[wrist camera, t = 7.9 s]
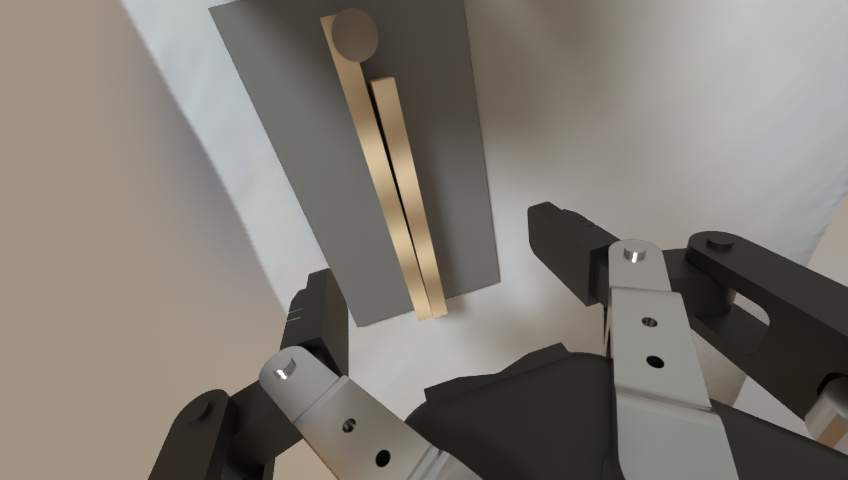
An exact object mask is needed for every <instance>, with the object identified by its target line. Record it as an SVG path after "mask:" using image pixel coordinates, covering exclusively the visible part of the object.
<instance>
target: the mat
mask: <svg viewBox="0 0 848 480" xmlns="http://www.w3.org/2000/svg"><path fill="white" fill-rule="evenodd" d="M347 8H358V9H361V10H363V11H364V12H366V13H367V14H368V15H369V16H370V17H371V18H372V20H373V21H374V23H375V25H376V27H377V31H378V45H377V48H376V51H375V52H374V54H373V55H372V56H371V57H370V58H369V59H367V60H365V61H364V62H361V63H360V67H361V70H362V74H363V77H364V81H365V84H366V88H367V91H368V94H369V98H370V101H371V105H372V108H373V112H374V115H375V119H376V122H377V125H378V129H379V132H380V136H381V139H382V143H383V146H384V150H385V153H386V157H387V160H388V163H389V167H390V170H391V174H392V177H393V181H394V184H395V188H396V191H397V194H398V190H397V187H396V183H395V179H394V175H393V172H392V168H391V164H390V160H389V157H388V153H387V149H386V145H385V142H384V138H383V134H382V130H381V127H380V123H379V119H378V115H377V112H376V108H375V104H374V100H373V97H372V93H371V89H370V86H369V82H368V81H370V80H374V79H378V78H382V77H386V76H389V77H394V80H395V84H396V88H397V93H398V97H399V102H400V106H401V110H402V115H403V119H404V123H405V128H406V132H407V137H408V141H409V145H410V150H411V154H412V158H413V163H414V167H415V172H416V176H417V180H418V185H419V189H420V193H421V198H422V202H423V207H424V211H425V215H426V220H427V224H428V228H429V233H430V237H431V242H432V246H433V250H434V255H435V259H436V263H437V268H438V272H439V277H440V281H441V285H442V290H443V294H444V298H445V299H448V298H451V297H454V296H457V295H460V294H463V293H467V292H470V291H473V290H476V289H479V288H482V287H485V286H488V285H491V284H494V283H497V282H500V280H499V272H498V264H497V257H496V249H495V241H494V234H493V226H492V218H491V210H490V203H489V195H488V187H487V180H486V172H485V164H484V157H483V149H482V141H481V134H480V126H479V118H478V110H477V103H476V95H475V87H474V80H473V72H472V64H471V57H470V49H469V41H468V34H467V26H466V18H465V10H464V3H463V0H240V1H236V2H231V3H227V4H223V5H219V6H215V7H211V8H208V9H209V12H210V14H211V16H212V18H213V20H214V22H215V24H216V27H217V29H218V31H219V33H220V35H221V37H222V39H223V41H224V44H225V46H226V48H227V50H228V52H229V54H230V56H231V58H232V61H233V63H234V65H235V67H236V69H237V71H238V73H239V75H240V78H241V80H242V82H243V84H244V86H245V88H246V90H247V93H248V95H249V97H250V99H251V101H252V103H253V105H254V107H255V110H256V112H257V114H258V116H259V118H260V120H261V122H262V124H263V127H264V129H265V131H266V133H267V135H268V137H269V139H270V142H271V144H272V146H273V148H274V150H275V152H276V154H277V156H278V159H279V161H280V163H281V165H282V167H283V169H284V171H285V173H286V176H287V178H288V180H289V182H290V184H291V186H292V188H293V191H294V193H295V195H296V197H297V199H298V201H299V203H300V205H301V208H302V210H303V212H304V214H305V216H306V218H307V220H308V222H309V225H310V227H311V229H312V231H313V233H314V235H315V237H316V240H317V242H318V244H319V246H320V248H321V250H322V252H323V254H324V257H325V259H326V261H327V263H328V265H329V267H330V269H331V271H332V272H333V275H334V277H335V279H336V281H337V283H338V285H339V287H340V290H341V292H342V294H343V296H344V298H345V301H346V303H347V306H348V308H349V310H350V312H351V314H352V316H353V318H354V320H355V323H356V325H357V327H361V326H365V325H368V324H371V323H374V322H377V321H380V320H383V319H386V318H389V317H392V316H395V315H399V314H402V313H405V312H408V311H411V310H414V306H413V303H412V300H411V297H410V293H409V290H408V287H407V284H406V281H405V278H404V275H403V272H402V269H401V266H400V263H399V260H398V257H397V253H396V250H395V247H394V244H393V241H392V238H391V235H390V232H389V229H388V226H387V223H386V220H385V217H384V214H383V210H382V207H381V204H380V201H379V198H378V195H377V192H376V189H375V186H374V183H373V180H372V177H371V174H370V171H369V167H368V164H367V161H366V158H365V155H364V152H363V149H362V146H361V143H360V140H359V137H358V134H357V131H356V127H355V124H354V121H353V118H352V115H351V112H350V109H349V106H348V103H347V100H346V97H345V94H344V91H343V88H342V84H341V81H340V78H339V75H338V72H337V69H336V66H335V63H334V60H333V57H332V54H331V51H330V48H329V45H328V41H327V38H326V35H325V32H324V29H323V26H322V23H321V20H320V18H323V17H326V16H330V15H334V14H338V13H340V12H341V11H342V10H344V9H347ZM398 198H399V194H398ZM399 201H400V198H399ZM400 205H401V202H400ZM401 208H402V205H401ZM402 212H403V209H402ZM403 215H404V213H403ZM404 219H405V217H404ZM405 222H406V220H405ZM406 226H407V224H406ZM407 229H408V228H407ZM408 232H409V231H408ZM409 236H410V235H409Z"/></svg>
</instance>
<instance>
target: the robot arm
mask: <svg viewBox="0 0 848 480" xmlns="http://www.w3.org/2000/svg"><path fill="white" fill-rule="evenodd" d="M528 230H529V243H530V246H531V249H532V251H533V253H534V254H535V255H536V256H537V257H538V258H539V259H540V260H541V261H542V262H543V263H544V264H545V265H546V266H547V267H548V268H549V269H550V270H551V271H552V272H553V273H554V274H555V275H556V276H557V277H558V278H559V279H560V280H561V281H562V282H563V283H564V284H565V285H566V286H567V287H568V288H569V289H570V290H571V291H572V292H573V293H574V294H575V295H576V296H577V297H578V298H579V299H580V300H581V301H582V302H583V303H584V304H585V305H586V306H587V307H588V306H591V305H594V304H597V303H599V302H600V303H601V304H602V305H603V354H602V355H597V354H592V353H583V352H570V353H569V352H568V350H567V349H566V348H565V347H564V345H563V344H562V343H561V342H560V343H558V344H555V345H552V346H549V347H546V348H543V349H540V350H537V351H534V352H531V353H528V354H527V355H525V356H524V357H522V358H521V359H519V360H518V361H516V362H515V363H513V364H512V365H510V366H508V367H507V368H505V369H504V370H502V371H501V372H499V373H496V374H488V375H478V376H467V377H458V378H455V379H452V380H449V381H446V382H443V383H440V384H437V385H435V386H432V387H429V388H426V389H424V392H425V396H426V400H427V401H426V402H424V403H423V404H421V405H420V406H419V407H417V408H416V409H415V410H414V411H413V412H412V413H411V414H410V415H409V416H408V417H407V418H406V420H405V421H404V422H403V421H402V420H401V419H399V418H398V417H397V416H396V415H395V414H393V413H392V412H391V411H390V410H388V409H387V408H386V407H385V406H383V405H382V404H381V403H380V402H378V401H377V400H376V399H375V398H373V397H372V396H371V395H370V394H368V393H367V392H366V391H365V390H364V389H362V388H361V387H360V386H359V385H357V384H356V383H355V382H354V381H352V380H351V379H350V378H349V377H348V308H347V304H346V301H345V298H344V296H343V294H342V292H341V290H340V287H339V285H338V283H337V281H336V279H335V277H334V275H333V272H332V271H331V269H330V268H327V269H324V270H320V271H317V272H314V273H311V274H309V276H308V282H307V287H306V289H303V290H300V291H298V293H297V294H296V296H295V297H294V298H293V300H292V301H291V305H290V309H289V314H288V317H287V322H286V326H285V330H284V334H283V338H282V342H281V346H280V350H279V352H277V353H276V354H274V355H273V356H272V357H271V358H270V359H269V360H268V361H267V362H266V363H265V364H264V366H263V367H262V369H261V371H260V374H259V380H258V381H256V382H254V383H253V384H251V385H249V386H248V387H246V388H244V389H243V390H241V391H239V392H237V393H236V394H234V395H232V396H231V397H230V396H229V395H228V394H227V393H226V392H225V391H224V390H221V389H216V390H211V391H208V392H206V393H203V394H201V395H200V396H198V397H197V398H195V399H194V400H192V401H191V402H190V403H189V404H188V405H187V406H185V408H183V410H182V411H181V412H180V413H179V414H178V416H177V417H176V419H175V420H174V422H173V424H172V426H171V428H170V431H169V433H168V435H167V437H166V440H165V442H164V444H163V446H162V449H161V451H160V453H159V456H158V458H157V460H156V462H155V465H154V467H153V469H152V472H151V474H150V476H149V478H148V480H273V472H274V464H275V457H277V456H278V455H279V454H281V453H282V452H284V451H285V450H287V449H288V448H290V447H291V446H293V445H294V444H296V443H297V442H299V441H300V440H301V439H304V440H305V441H306V442H307V444H308V445H309V446H310V447H311V448H312V450H313V451H314V452H315V453H316V454H317V456H318V457H319V458H320V459H321V460H322V462H323V463H324V464H325V465H326V466H327V468H328V469H329V470H330V471H331V472H332V474H333V475H334V476H335V477H336V478H337V480H848V287H846V286H844V285H842V284H840V283H838V282H835V281H833V280H831V279H829V278H827V277H825V276H823V275H821V274H819V273H816V272H814V271H812V270H810V269H808V268H806V267H804V266H802V265H799V264H797V263H795V262H793V261H791V260H789V259H787V258H785V257H782V256H780V255H778V254H776V253H774V252H772V251H770V250H768V249H765V248H763V247H761V246H759V245H757V244H755V243H753V242H751V241H748V240H746V239H744V238H742V237H740V236H737V235H734V234H730V233H726V232H718V231H705V232H699V233H696V234H694V235H692V236H691V237H690V238H689V241H688V245H687V248H683V249H673V250H660V248H658V247H657V246H656V245H654V244H652V243H649V242H646V241H642V240H634V239H628V240H620V239H618V238H616V237H615V236H613V235H612V234H610V233H608V232H607V231H605V230H604V229H602V228H601V227H599V226H597V225H595V224H594V223H593V222H591V221H589V220H587V219H586V218H585V217H583V216H582V215H580V214H578V213H576V212H573V211H569V210H566V209H563V210H561V209H559V208H558V207H556V206H555V205H553V204H552V203H550V202H544V203H541V204H537V205H534V206H531V207H529V208H528ZM737 292H738V293H740V294H741V295H743V296H745V297H746V298H748V299H749V300H751V301H753V302H754V303H756V304H757V305H759V306H760V307H761V308H763V309H764V311H765V312H766V313H767V315H768V317H769V320H770V324H769V326H768V325H766V324H765V323H763V322H762V321H760V320H759V319H757V318H756V317H754V316H753V315H751V314H750V313H748V312H747V311H745V310H744V309H742V308H741V307H739V306H738V305H736V304H734V303H733V301H734V299H735V296H736V293H737ZM690 328H692V329H693V330H694V331H695V332H696V333H698V334H699V335H700V336H701V337H702V338H704V339H705V340H706V341H707V342H709V343H710V344H711V345H712V346H713V347H715V348H716V349H717V350H718V351H719V352H721V353H722V354H723V355H724V356H725V357H727V358H728V359H729V360H730V361H731V362H733V363H734V364H735V365H736V366H738V367H739V368H740V369H741V370H742V371H744V372H745V373H746V374H747V375H748V376H750V377H751V378H752V379H753V380H754V381H756V382H757V383H758V384H759V385H761V386H762V387H763V388H764V389H765V390H767V391H768V392H769V393H770V394H771V395H773V396H774V397H775V398H776V399H777V400H779V401H780V402H781V403H782V404H783V405H785V406H786V407H787V408H788V409H790V410H791V411H792V412H793V413H794V414H796V415H797V416H798V417H799V418H801V419H802V420H803V421H804V422H805V424H806V427H807V429H808V431H809V433H810V434H811V436H812V437H813V438H814V440H815V441H814V440H812V439H809V438H807V437H805V436H802V435H800V434H797V433H794V432H792V431H790V430H787V429H785V428H782V427H780V426H777V425H775V424H772V423H770V422H768V421H765V420H763V419H760V418H758V417H755V416H753V415H750V414H748V413H745V412H743V411H740V410H738V409H735V408H733V407H730V406H728V405H726V404H723V403H721V402H718V401H716V400H713V399H711V398H709V397H708V393H707V389H706V386H705V382H704V378H703V374H702V371H701V367H700V363H699V359H698V355H697V352H696V348H695V344H694V340H693V337H692V333H691V329H690Z"/></svg>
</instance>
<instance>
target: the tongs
mask: <svg viewBox="0 0 848 480" xmlns="http://www.w3.org/2000/svg"><path fill="white" fill-rule="evenodd" d="M320 20H321V23H322V26H323V29H324V32H325V35H326V38H327V41H328V45H329V48H330V51H331V54H332V57H333V60H334V63H335V66H336V69H337V72H338V75H339V78H340V81H341V84H342V88H343V91H344V94H345V97H346V100H347V103H348V106H349V109H350V112H351V115H352V118H353V121H354V124H355V127H356V131H357V134H358V137H359V140H360V143H361V146H362V149H363V152H364V155H365V158H366V161H367V164H368V167H369V171H370V174H371V177H372V180H373V183H374V186H375V189H376V192H377V195H378V198H379V201H380V204H381V207H382V210H383V214H384V217H385V220H386V223H387V226H388V229H389V232H390V235H391V238H392V241H393V244H394V247H395V250H396V253H397V257H398V260H399V263H400V266H401V269H402V272H403V275H404V278H405V281H406V284H407V287H408V290H409V293H410V297H411V300H412V303H413V306H414V309H415V312H416V315H417V318H418V321H421V320H425V319H428V318H431V317H433V315H432V312H431V308H430V305H429V301H428V298H427V295H426V291H425V288H424V284H423V281H422V277H421V274H420V270H419V267H418V263H417V260H416V257H415V253H414V250H413V246H412V243H411V239H410V236H409V232H408V229H407V226H406V222H405V219H404V215H403V212H402V208H401V205H400V201H399V198H398V194H397V191H396V188H395V184H394V181H393V177H392V174H391V170H390V167H389V163H388V160H387V157H386V153H385V150H384V146H383V143H382V139H381V136H380V132H379V129H378V125H377V122H376V119H375V115H374V112H373V108H372V105H371V101H370V98H369V94H368V91H367V88H366V84H365V81H364V77H363V74H362V70H361V67H360V63H361V62H364V61H365V60H367V59H369V58H370V57H371V56H372V55H373V54H374V52H375V51H376V48H377V45H378V31H377V27H376V25H375V23H374V21H373V20H372V18H371V17H370V16H369V15H368V14H367V13H366V12H364V11H363V10H361V9H358V8H347V9H344V10H342V11H341V12H340V13H338V14H334V15H330V16H326V17H323V18H320Z"/></svg>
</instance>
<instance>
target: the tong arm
mask: <svg viewBox="0 0 848 480" xmlns="http://www.w3.org/2000/svg"><path fill="white" fill-rule="evenodd" d="M368 82H369V86H370V89H371V93H372V97H373V100H374V104H375V108H376V112H377V115H378V119H379V123H380V127H381V130H382V134H383V138H384V142H385V145H386V149H387V153H388V157H389V160H390V164H391V168H392V172H393V175H394V179H395V183H396V187H397V190H398V194H399V198H400V202H401V205H402V209H403V213H404V217H405V220H406V224H407V228H408V231H409V235H410V239H411V243H412V246H413V250H414V253H415V257H416V260H417V263H418V267H419V270H420V274H421V277H422V281H423V284H424V288H425V291H426V295H427V298H428V301H429V305H430V308H431V312H432V315H433V318H436V317H439V316H442V315H445V314H448V312H447V307H446V303H445V298H444V294H443V290H442V285H441V281H440V277H439V272H438V268H437V263H436V259H435V255H434V250H433V246H432V242H431V237H430V233H429V228H428V224H427V220H426V215H425V211H424V207H423V202H422V198H421V193H420V189H419V185H418V180H417V176H416V172H415V167H414V163H413V158H412V154H411V150H410V145H409V141H408V137H407V132H406V128H405V123H404V119H403V115H402V110H401V106H400V102H399V97H398V93H397V88H396V84H395V80H394V77H389V76H386V77H382V78H378V79H374V80H370V81H368Z"/></svg>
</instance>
